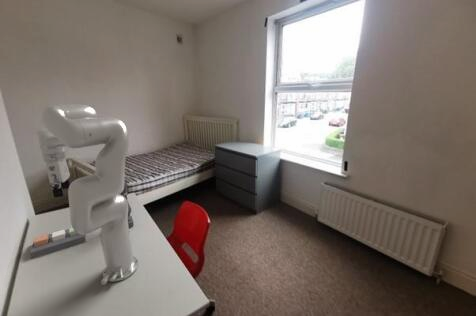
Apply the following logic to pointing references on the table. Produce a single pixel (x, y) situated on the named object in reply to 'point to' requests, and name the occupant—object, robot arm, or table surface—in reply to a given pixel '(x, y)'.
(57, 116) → the robot arm
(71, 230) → the sage key
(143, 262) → the table surface
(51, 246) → the keypad
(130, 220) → the candle holder
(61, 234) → the cream key
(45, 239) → the terracotta key
